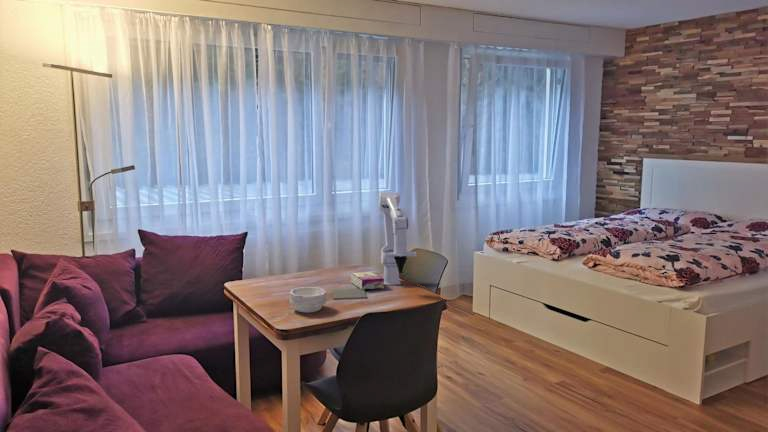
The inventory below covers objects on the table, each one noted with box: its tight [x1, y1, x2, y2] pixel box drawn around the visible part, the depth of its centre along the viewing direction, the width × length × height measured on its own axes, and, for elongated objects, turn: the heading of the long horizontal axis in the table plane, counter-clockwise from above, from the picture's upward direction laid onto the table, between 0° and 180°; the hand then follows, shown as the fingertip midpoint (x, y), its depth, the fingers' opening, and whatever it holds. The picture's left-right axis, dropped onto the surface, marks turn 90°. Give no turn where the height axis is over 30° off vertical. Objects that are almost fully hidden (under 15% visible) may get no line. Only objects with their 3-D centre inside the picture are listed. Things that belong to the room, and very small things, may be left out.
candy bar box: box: [350, 271, 385, 291], centre depth 283 cm, size 11×5×16 cm
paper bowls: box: [289, 286, 328, 314], centre depth 246 cm, size 15×15×8 cm
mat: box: [332, 288, 368, 300], centre depth 269 cm, size 14×14×1 cm
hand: (400, 272), depth 270 cm, fingers closed
